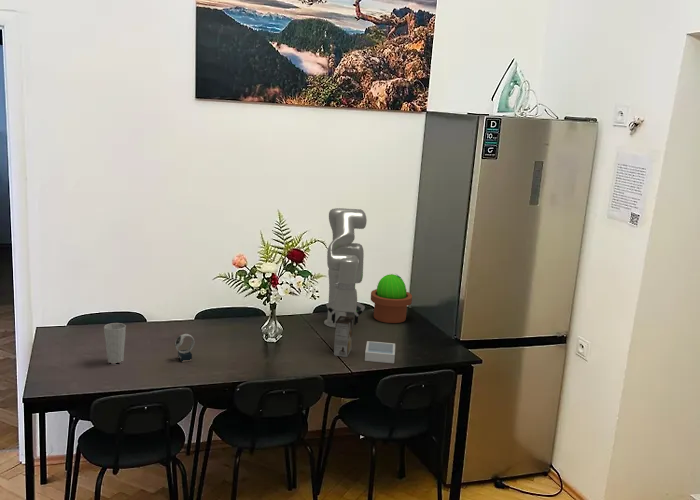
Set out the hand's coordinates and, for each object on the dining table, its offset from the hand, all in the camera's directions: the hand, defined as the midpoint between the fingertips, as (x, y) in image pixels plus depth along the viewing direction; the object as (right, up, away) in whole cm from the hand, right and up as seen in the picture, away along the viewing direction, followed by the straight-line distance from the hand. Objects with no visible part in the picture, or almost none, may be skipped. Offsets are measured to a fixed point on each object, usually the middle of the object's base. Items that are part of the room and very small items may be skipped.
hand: (344, 323), depth 276 cm
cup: (-94, -14, -22) cm, 98 cm away
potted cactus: (+24, -4, +56) cm, 61 cm away
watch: (-68, -14, -15) cm, 71 cm away
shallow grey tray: (+16, -15, +2) cm, 22 cm away
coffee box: (-1, -14, +4) cm, 15 cm away
